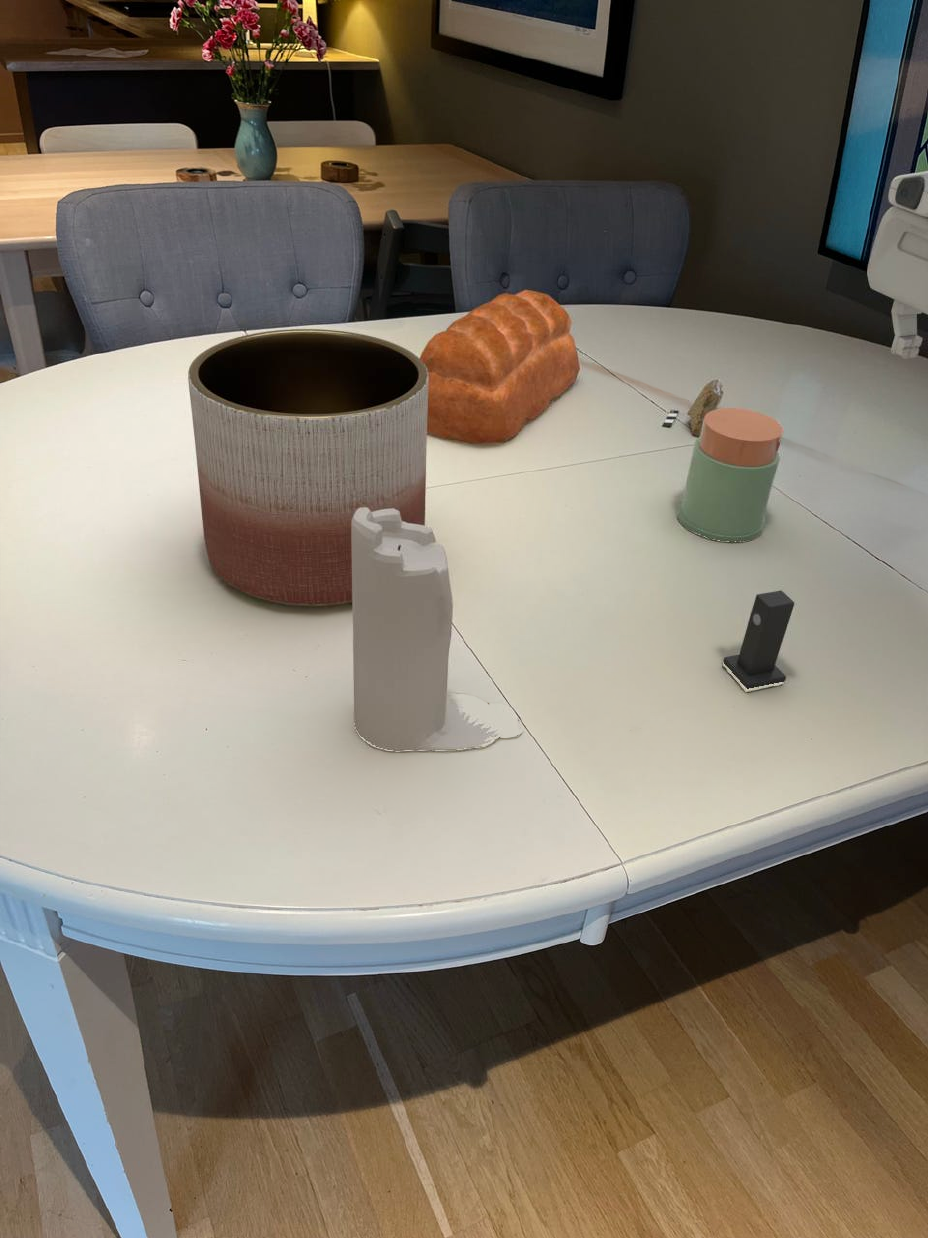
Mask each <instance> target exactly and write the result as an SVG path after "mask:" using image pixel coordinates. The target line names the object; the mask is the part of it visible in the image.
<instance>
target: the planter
mask: <svg viewBox="0 0 928 1238" xmlns="http://www.w3.org/2000/svg"><path fill="white" fill-rule="evenodd" d="M187 381H188V389H189V390H188V392H189V401H190V410H191V417H192V426H193V436H194V447H195V455H196V456H195V457H196V467H197V477H198V489H199V498H200V509H201V510H200V511H201V518H202V519H201V520H202V529H203V538H204V545H205V546H204V547H205V550H206V554H207V558H208V561H209V564H210V566H211V567H212V569H213V570H214V572H215V573H216V574H217V575H218V576H219V577H220V578H221V579H222V580H223V581H224V582H225V583H227V584H228V585H230V586H232V588H235V589H237V591H240V592H243V593H245V594H247V595H249V596H252V597H254V598H257V599H261V600H264V601H268V602H272V603H277V604H281V605H287V606H293V607H294V606H296V607H330V606H331V607H332V606H339V605H345V604H351V603H352V547H351V522H352V518H353V516H354V514H355V512H356V511H357V510H358V508H365V507H367V508H368V509H369V510H370V511H371V512H374V511H377V510H382V509H391V508H394V509H396V510H398V511H399V512H400V516H401V519H402V521H404V522H406V523H411V524H418V525H424V526H426V496H427V495H426V492H427V491H426V490H427V485H426V484H427V445H428V444H427V442H428V433H427V412H428V381H429V378H428V371H427V368H426V366H425V364H424V363H423V362H422V361H421V360H420V357H418V356H417V355H416V354H415V353H413V352H412V351H411V350H409V349H407V348H405V347H403V346H401V345H399V344H396V343H394V342H392V341H389V340H385V339H383V338H379V337H375V336H371V335H368V334H363V333H357V332H351V331H344V330H334V329H322V328H293V329H292V328H291V329H277V330H269V331H262V332H255V333H251V334H250V333H249V334H245V335H241V336H238V337H234V338H232V339H228V340H225V341H222V342H220V343H217V344H215V345H213V346H211V347H209V348H207V349H205V350H204V351H203V352H201V353H200V354H198V355H197V356H196V357H195V358H194V359H193V360H192V362H191V363H190V365H189V367H188V372H187Z"/></svg>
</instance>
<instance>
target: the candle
mask: <svg viewBox="0 0 928 1238" xmlns="http://www.w3.org/2000/svg"><path fill="white" fill-rule="evenodd" d="M351 547H352V602H351V603H352V663H353V664H352V672H353V674H352V675H353V722H354V723H355V725H354V728H355V727H356V729H355V731H356V730H357V731H358V733H359V735H360V736H361V737H363V738H364V739H365V740H366V741H368V742H370V743H371V744H372V745H375V746H376V747H379V748H383V749H387V750H393V751H402V750H403V751H404V750H427V751H426V752H429V751H428V750H433V751H432V752H436V751H435V750H457V749H464V748H467V749H468V748H475V747H482V746H479V745H482V744H485V743H488V742H490V741H491V740H488V741H484V740H486V739H487V738H489V737H490V736H491V737H496V736H497V735H498V734H495V735H493V734H494V733H495V732H496V731H497V730H496V731H492V732H488V733H486V732H487V731H488V730H489V729H490V728H491V727H489V728H483V729H481V727H482V726H483V725H484V724H485V723H484V724H478V725H476V726H473V725H474V724H475V722H476V721H477V720H478V719H477V720H476V721H474V722H472V723H468V720H469V717H470V715H469V716H467V717H466V719H465V720H463V719H464V715H465V712H463V713H462V715H459V709H455V708H458V706H457V704H456V702H455V700H454V699H451V700H452V703H453V704H451V702H450V700H449V697H447V692H448V681H449V679H448V676H449V656H450V647H451V641H452V630H453V629H452V628H453V613H454V612H453V609H454V605H453V604H454V603H453V602H454V601H453V594H452V593H453V592H452V587H451V580H450V573H449V563H448V556H447V552H446V551H445V547H444V546H443V545H442V544H441V543H439V542H437V541H436V536H435V533H434V530H433V527H430V526H427V525H425V526H424V525H418V524H411V523H406V522H404V521H402V519H401V516H400V512H399V511H398V510H396V509H394V508H391V509H382V510H377V511H374V512H371V511H370V510H369V509H368V508H367V507H365V508H358V510H357V511H356V512H355V514H354V516H353V518H352V522H351ZM462 708H463V707H462ZM467 723H468V724H467ZM359 735H358V736H359ZM492 735H493V736H492Z"/></svg>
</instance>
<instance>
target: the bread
mask: <svg viewBox="0 0 928 1238" xmlns="http://www.w3.org/2000/svg"><path fill="white" fill-rule="evenodd" d="M571 327H572V320H571V317H570V314H569V313H568V312H567V310H566V309H565V308H564V307H563V306H561V304H559V303H558V302H557V301H556V300H555V299H554V298H553V297H551V296H550V295H549V294H548V293H543V292H539V291H535V290H529V289H523V290H522V291H520V292H517V293H515V294H511V293H508V292H505V293H500V294H498V295H497V296H496V297H494V298H493V299H492V300H490V301H489V302H486V303H484V304H481V305H480V306H477V307H475V308H474V309H471V310H470V311H469V312H468V313H467V314H466V315H464V316H462V317H460V318H458V319H457V320H455V321H453V322H452V323H450V324H449V326H448V327H447V328H446V329H445V330H444V331H440V332H437V333H436V334H434V336H432V338H430V339H429V341H428V342H427V344H426V345H425V347H424V348H423V350H422V352H421V353H420V356H419V359H420V360H421V361H422V362H423V363H424V364H425V366H426V368H427V371H428V378H429V381H428V412H427V434H430V435H433V436H435V437H439V438H442V439H447V440H452V441H456V442H462V443H467V444H470V445H471V444H472V445H475V444H476V445H477V444H479V445H480V444H481V445H482V444H496V443H497V444H498V443H505V442H507V441H508V440H510V439H511V438H513V437H515V436H517V435H518V434H519V432H520V431H521V430H522V429H523V427H524V426H525V424H526V423H527V422H529V421H533V420H535V419H536V418H537V417H538V416H539V415H540V414H542V413H543V412H544V411H545V410H546V409H547V408H549V406H550V403H551V401H552V399H555V398H557V397H560V396H561V395H562V394H563V393H564V392H565V391H566V390H567V389H569V387H570V386H572V384H573V383H574V382H575V381H576V379H577V377H578V376H579V372H580V370H581V368H580V360H579V354H578V349H577V346H576V342H575V341H576V340H575V338H574V336H573V335H572V334H571V333H570V331H571Z"/></svg>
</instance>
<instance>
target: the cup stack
mask: <svg viewBox="0 0 928 1238" xmlns="http://www.w3.org/2000/svg"><path fill="white" fill-rule="evenodd" d="M783 434H784V428H783V426H782V424H781V423H780V422H779V421H777V420H776V419H774V418H773V417H771V416H769V415H767V414H764V413H761V412H758V411H755V410H751V409H746V408H737V407H723V408H722V407H721V408H716V409H715V410H713V411H710V412H708V413H707V414H706V415H705V417H704V420H703V425H702V429H701V434H700V436H697V438H696V439H695V441H694V444H693V449H692V454H691V458H690V463H689V468H688V471H687V472H688V473H687V477H686V480H685V486H684V491H683V495H682V499H681V502H680V503H679V504H678V506H677V510H676V518H677V517H678V518H677V520H678V519H679V520H678V522H679V521H680V522H679V524H680V525H681V524H682V525H683V526H685V527H684V529H686V528H687V529H688V530H687V529H686V530H687V531H689V530H690V531H693V532H695V533H697V534H700V535H701V536H705V537H707V538H709V539H708V540H710V539H715V540H720V541H725V542H724V543H727V542H726V541H729V542H735V541H736V542H740V541H741V542H740V543H744V542H743V541H746V542H749V541H748V540H750V541H752V539H753V540H755V539H757V538H758V537H760V536H761V534H762V533H763V530H764V527H765V519H764V517H765V513H766V510H767V506H768V503H769V499H770V496H771V492H772V488H773V485H774V482H775V481H774V480H775V477H776V474H777V471H778V467H779V464H780V460H781V454H780V452H779V448H780V446H781V442H782V438H783ZM682 525H681V526H682ZM683 526H682V527H683ZM690 531H689V532H690ZM757 536H758V537H757ZM756 537H757V538H756ZM754 538H755V539H754Z"/></svg>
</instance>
